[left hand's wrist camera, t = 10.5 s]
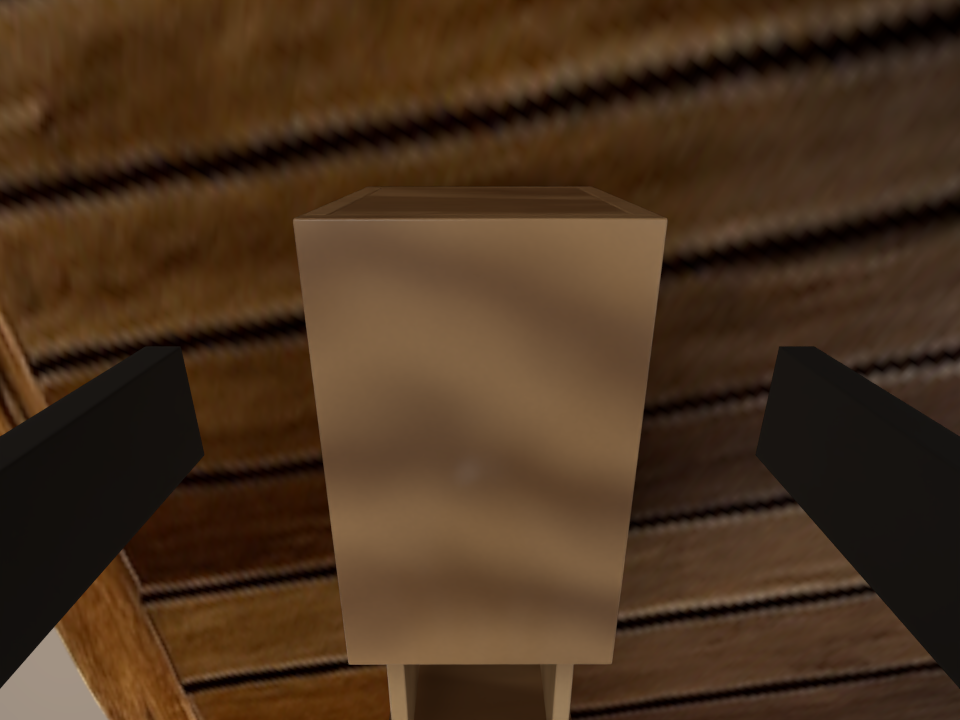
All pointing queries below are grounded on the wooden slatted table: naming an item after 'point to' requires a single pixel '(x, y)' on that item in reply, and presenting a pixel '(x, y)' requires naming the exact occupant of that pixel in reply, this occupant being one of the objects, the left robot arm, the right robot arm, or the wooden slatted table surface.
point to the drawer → (480, 691)
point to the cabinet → (480, 414)
